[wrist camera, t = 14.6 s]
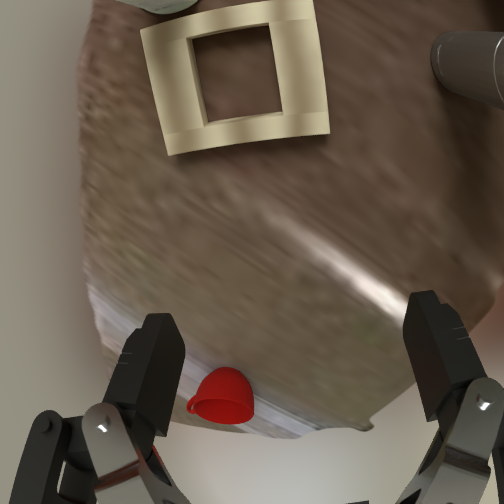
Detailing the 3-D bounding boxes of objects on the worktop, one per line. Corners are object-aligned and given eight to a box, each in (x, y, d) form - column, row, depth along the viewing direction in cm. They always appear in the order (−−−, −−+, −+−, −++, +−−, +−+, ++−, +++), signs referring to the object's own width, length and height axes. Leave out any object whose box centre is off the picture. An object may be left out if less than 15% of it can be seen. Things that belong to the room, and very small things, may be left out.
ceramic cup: (175, 369, 69) (166, 405, 61) (236, 352, 63) (232, 393, 55) (208, 395, 75) (202, 428, 67) (266, 382, 69) (264, 419, 61)
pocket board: (308, 2, 28) (311, -3, 26) (326, 128, 37) (330, 133, 35) (148, 31, 31) (139, 29, 28) (175, 149, 40) (168, 155, 38)
